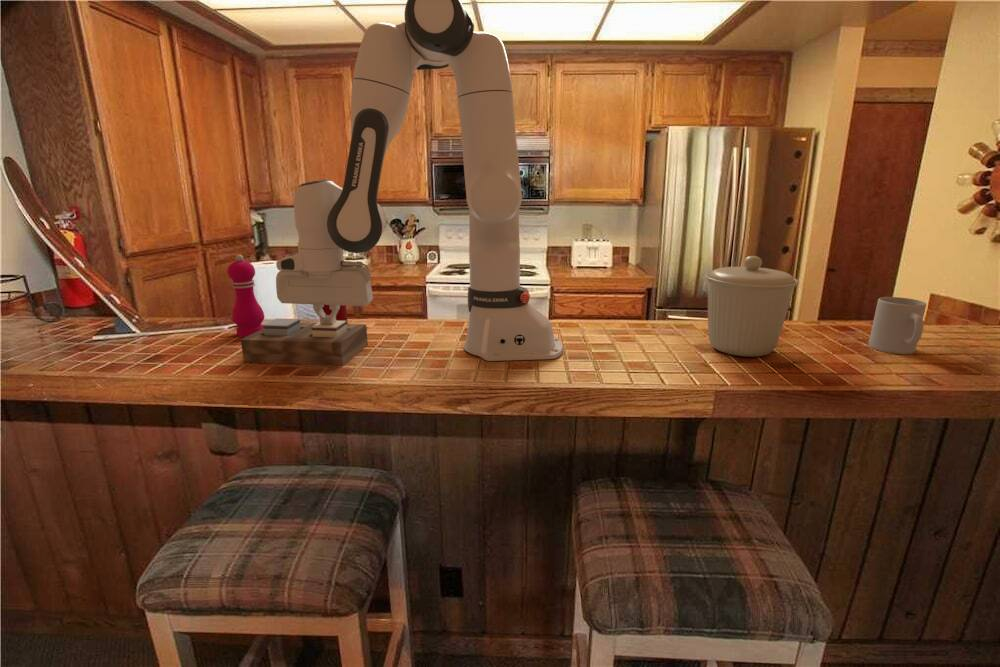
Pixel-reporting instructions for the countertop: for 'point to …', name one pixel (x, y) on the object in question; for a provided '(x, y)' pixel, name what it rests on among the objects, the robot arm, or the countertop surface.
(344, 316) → the beverage can
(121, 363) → the countertop surface
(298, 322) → the slate key
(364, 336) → the frame
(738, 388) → the countertop surface
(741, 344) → the canister
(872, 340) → the mug
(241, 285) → the pepper mill
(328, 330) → the cream key
